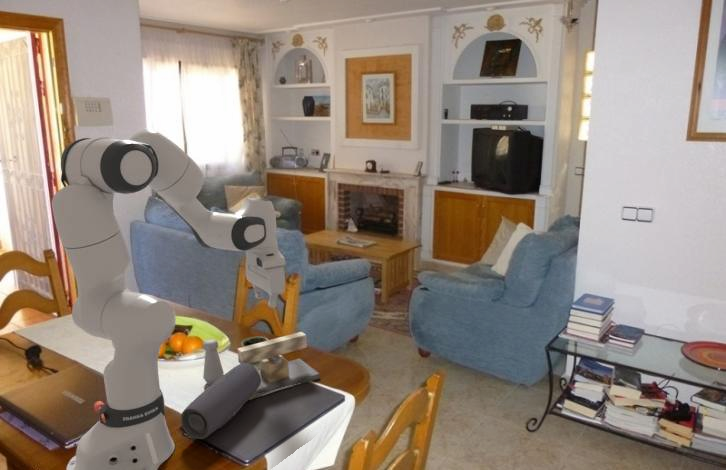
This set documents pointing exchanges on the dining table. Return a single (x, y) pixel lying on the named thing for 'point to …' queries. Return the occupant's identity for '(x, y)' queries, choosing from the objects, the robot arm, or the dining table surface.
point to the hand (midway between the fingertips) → (265, 302)
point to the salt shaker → (212, 362)
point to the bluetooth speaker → (220, 401)
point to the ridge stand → (283, 373)
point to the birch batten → (272, 348)
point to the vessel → (253, 341)
